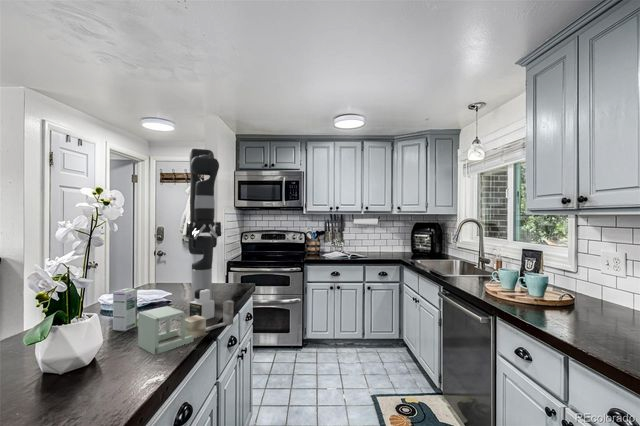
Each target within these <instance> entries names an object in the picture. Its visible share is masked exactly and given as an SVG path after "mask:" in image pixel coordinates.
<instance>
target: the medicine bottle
mask: <svg viewBox="0 0 640 426" xmlns="http://www.w3.org/2000/svg"><path fill="white" fill-rule="evenodd" d="M209 299H210V290H209V289H198V290H196V291H195V301H192V302H191V301H190V302H189V317H191V316H195V315H198V316H201V317H204V318H206V321H208V320H209V319H212V318H214V317H215V300H214V299H213V300H209Z"/></svg>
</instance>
